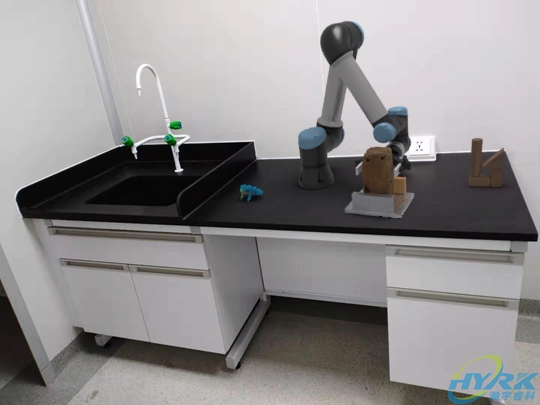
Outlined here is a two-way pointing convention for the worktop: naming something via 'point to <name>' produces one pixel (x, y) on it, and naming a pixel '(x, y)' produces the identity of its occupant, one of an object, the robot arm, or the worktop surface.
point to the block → (378, 171)
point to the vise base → (397, 206)
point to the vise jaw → (399, 185)
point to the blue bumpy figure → (249, 191)
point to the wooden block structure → (485, 166)
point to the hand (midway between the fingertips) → (375, 172)
